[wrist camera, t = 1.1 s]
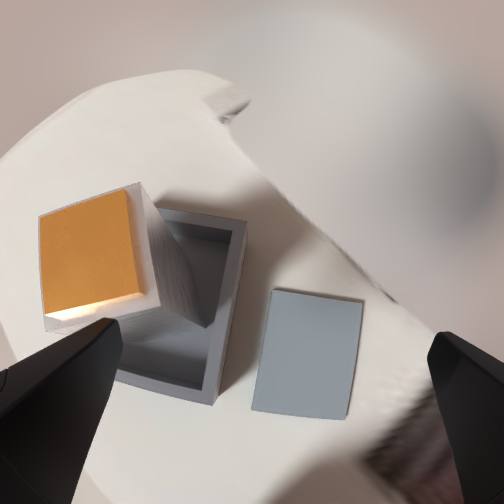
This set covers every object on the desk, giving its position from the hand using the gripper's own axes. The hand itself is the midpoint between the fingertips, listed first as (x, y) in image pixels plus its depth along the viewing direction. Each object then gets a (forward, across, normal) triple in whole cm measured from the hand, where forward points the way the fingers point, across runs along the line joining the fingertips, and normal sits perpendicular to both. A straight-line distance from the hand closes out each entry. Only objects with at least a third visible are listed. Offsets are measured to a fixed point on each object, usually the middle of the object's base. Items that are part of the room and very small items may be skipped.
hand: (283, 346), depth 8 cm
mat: (+11, -4, +10) cm, 16 cm away
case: (+14, +7, +8) cm, 17 cm away
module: (+13, +7, +7) cm, 16 cm away
